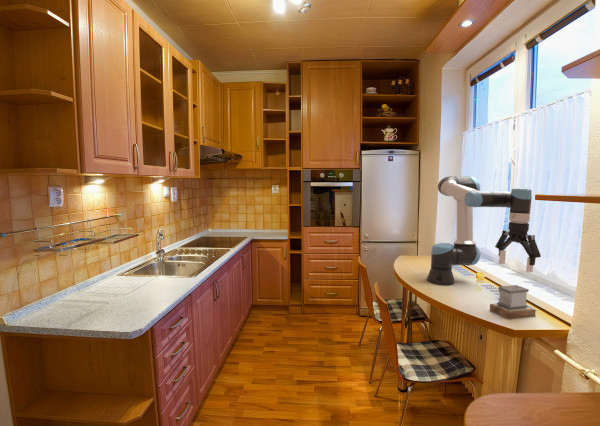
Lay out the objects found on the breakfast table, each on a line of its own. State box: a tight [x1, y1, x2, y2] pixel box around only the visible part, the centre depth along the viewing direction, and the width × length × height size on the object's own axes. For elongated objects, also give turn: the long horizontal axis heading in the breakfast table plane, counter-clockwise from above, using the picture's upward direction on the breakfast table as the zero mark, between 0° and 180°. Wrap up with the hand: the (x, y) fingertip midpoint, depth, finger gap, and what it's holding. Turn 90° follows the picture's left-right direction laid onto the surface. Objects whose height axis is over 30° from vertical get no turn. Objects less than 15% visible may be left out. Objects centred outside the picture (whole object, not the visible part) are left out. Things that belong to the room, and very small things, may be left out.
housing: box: [496, 284, 530, 310], centre depth 139 cm, size 6×10×9 cm, turn 103°
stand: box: [489, 302, 537, 320], centre depth 139 cm, size 10×15×3 cm, turn 103°
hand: (515, 267), depth 138 cm, fingers open, 13 cm apart
